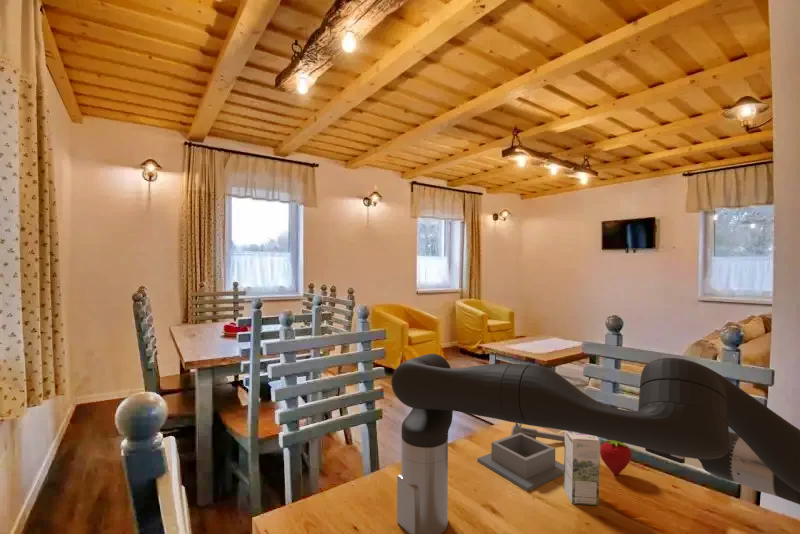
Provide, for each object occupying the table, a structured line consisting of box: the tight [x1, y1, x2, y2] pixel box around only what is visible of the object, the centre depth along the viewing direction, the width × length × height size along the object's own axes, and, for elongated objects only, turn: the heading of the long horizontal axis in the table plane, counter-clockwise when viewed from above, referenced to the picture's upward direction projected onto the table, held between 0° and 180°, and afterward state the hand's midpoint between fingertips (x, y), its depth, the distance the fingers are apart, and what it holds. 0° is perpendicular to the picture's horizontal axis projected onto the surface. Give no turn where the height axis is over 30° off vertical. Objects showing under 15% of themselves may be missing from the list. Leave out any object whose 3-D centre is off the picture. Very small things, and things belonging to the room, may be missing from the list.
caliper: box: [510, 423, 565, 443], centre depth 115 cm, size 20×1×6 cm, turn 94°
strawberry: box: [600, 439, 632, 476], centre depth 98 cm, size 6×8×10 cm
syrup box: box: [563, 430, 601, 506], centre depth 88 cm, size 6×6×14 cm
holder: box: [476, 432, 564, 492], centre depth 102 cm, size 16×16×5 cm
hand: (638, 425), depth 78 cm, fingers open, 8 cm apart
